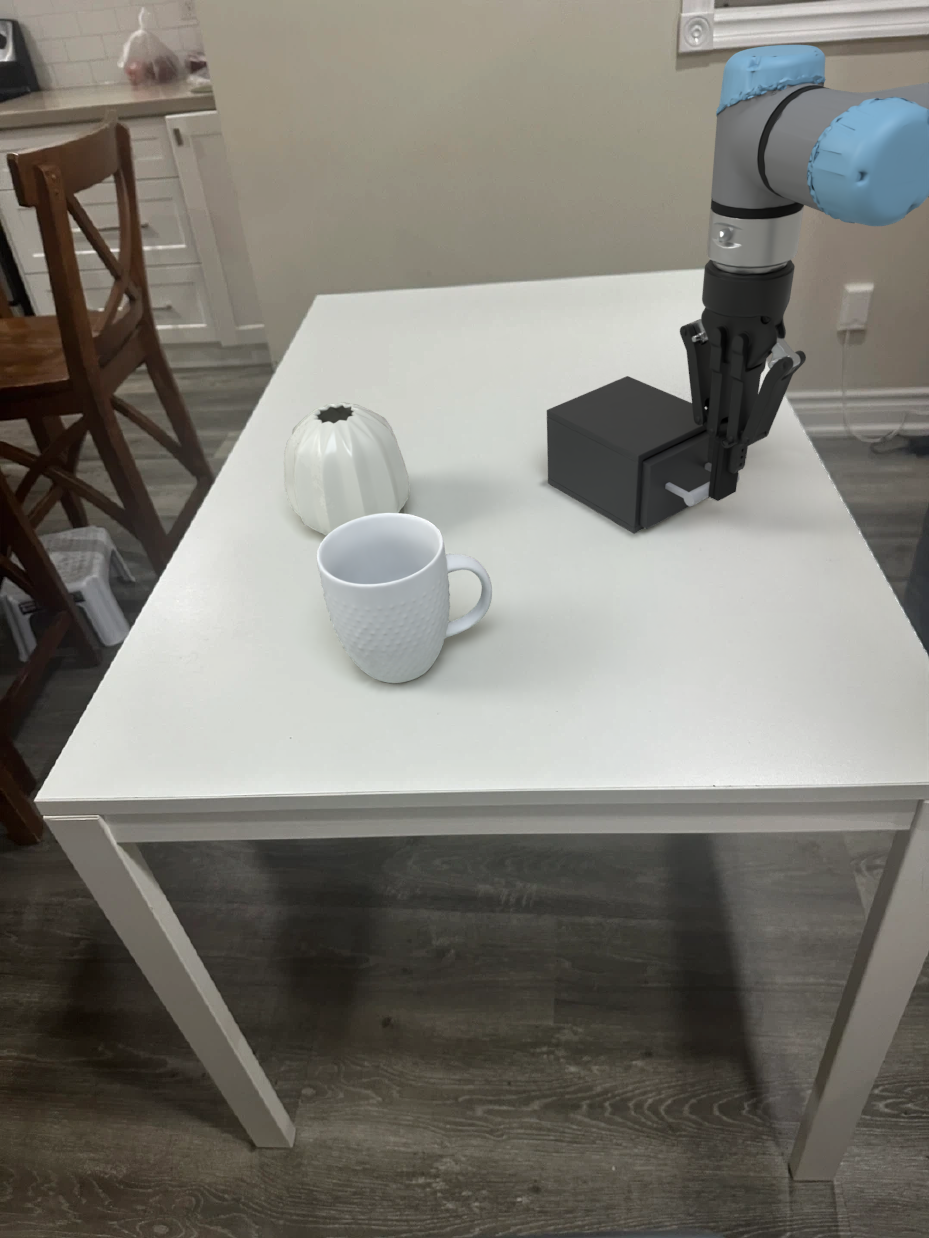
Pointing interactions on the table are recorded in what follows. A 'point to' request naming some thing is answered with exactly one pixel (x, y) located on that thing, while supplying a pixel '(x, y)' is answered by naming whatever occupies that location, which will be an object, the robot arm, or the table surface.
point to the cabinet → (613, 444)
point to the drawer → (675, 480)
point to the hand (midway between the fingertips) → (722, 493)
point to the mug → (393, 593)
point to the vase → (343, 467)
